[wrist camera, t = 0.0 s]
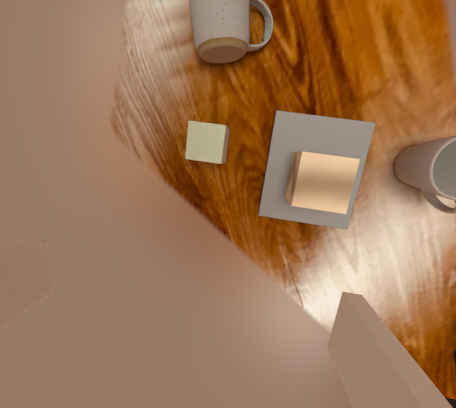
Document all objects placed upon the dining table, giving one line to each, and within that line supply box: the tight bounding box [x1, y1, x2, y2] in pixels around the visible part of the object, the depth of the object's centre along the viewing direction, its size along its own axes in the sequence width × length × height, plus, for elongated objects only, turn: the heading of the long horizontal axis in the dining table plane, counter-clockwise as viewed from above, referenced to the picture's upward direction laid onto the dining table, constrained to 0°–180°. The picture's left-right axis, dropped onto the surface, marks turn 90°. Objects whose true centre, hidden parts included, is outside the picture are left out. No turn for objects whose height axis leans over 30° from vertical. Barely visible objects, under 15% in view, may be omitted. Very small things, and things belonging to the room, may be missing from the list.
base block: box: [285, 151, 360, 214], centre depth 31 cm, size 7×7×6 cm
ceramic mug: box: [189, 0, 273, 63], centre depth 29 cm, size 11×8×8 cm
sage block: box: [185, 121, 230, 164], centre depth 33 cm, size 5×5×6 cm
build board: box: [258, 111, 375, 229], centre depth 35 cm, size 16×14×1 cm
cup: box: [394, 136, 456, 214], centre depth 30 cm, size 8×10×8 cm
